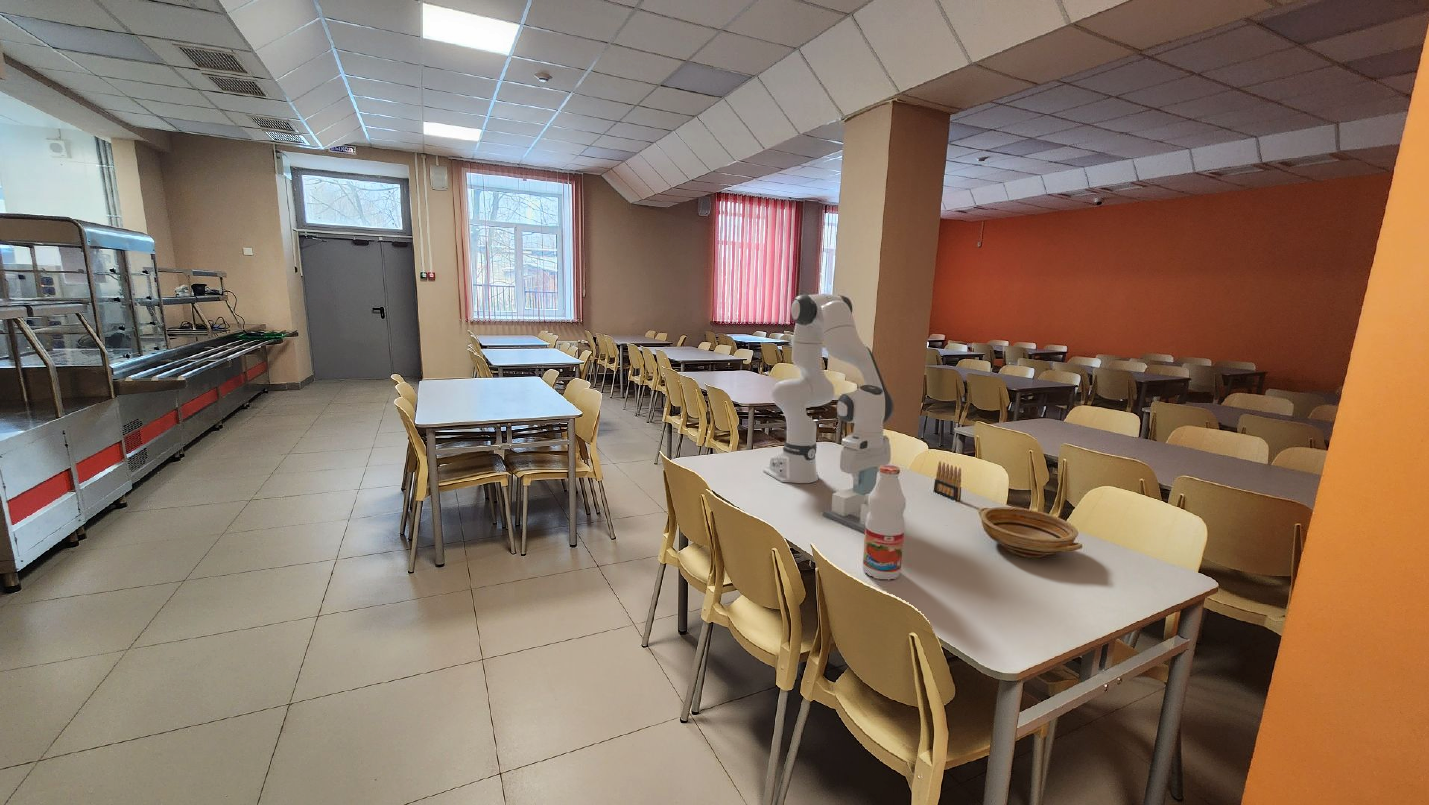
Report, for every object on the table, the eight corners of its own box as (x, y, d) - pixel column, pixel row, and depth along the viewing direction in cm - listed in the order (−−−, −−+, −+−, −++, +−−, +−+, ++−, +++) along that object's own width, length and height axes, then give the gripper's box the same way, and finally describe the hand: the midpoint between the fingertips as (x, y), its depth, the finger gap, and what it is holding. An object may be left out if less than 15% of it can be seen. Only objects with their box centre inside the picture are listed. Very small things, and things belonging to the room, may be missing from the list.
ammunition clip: (960, 501, 197) (964, 468, 195) (956, 501, 196) (960, 468, 194) (936, 491, 207) (940, 460, 204) (933, 492, 206) (936, 460, 204)
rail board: (822, 515, 181) (824, 493, 180) (851, 506, 189) (853, 485, 188) (873, 537, 165) (875, 513, 164) (902, 526, 173) (904, 503, 172)
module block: (852, 491, 175) (854, 467, 174) (865, 488, 179) (867, 463, 177) (863, 495, 172) (864, 470, 171) (875, 491, 176) (877, 467, 174)
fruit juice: (897, 565, 148) (905, 463, 143) (903, 583, 139) (913, 474, 134) (860, 562, 149) (867, 460, 144) (864, 579, 140) (872, 471, 135)
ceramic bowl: (951, 535, 168) (954, 510, 166) (1006, 523, 178) (1009, 499, 177) (1046, 580, 142) (1050, 551, 140) (1104, 562, 152) (1108, 535, 151)
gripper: (880, 432, 181) (877, 473, 183) (837, 441, 169) (834, 485, 172) (897, 436, 176) (893, 479, 178) (854, 445, 164) (851, 490, 167)
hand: (864, 482), depth 175 cm, fingers closed on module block, 6 cm apart
